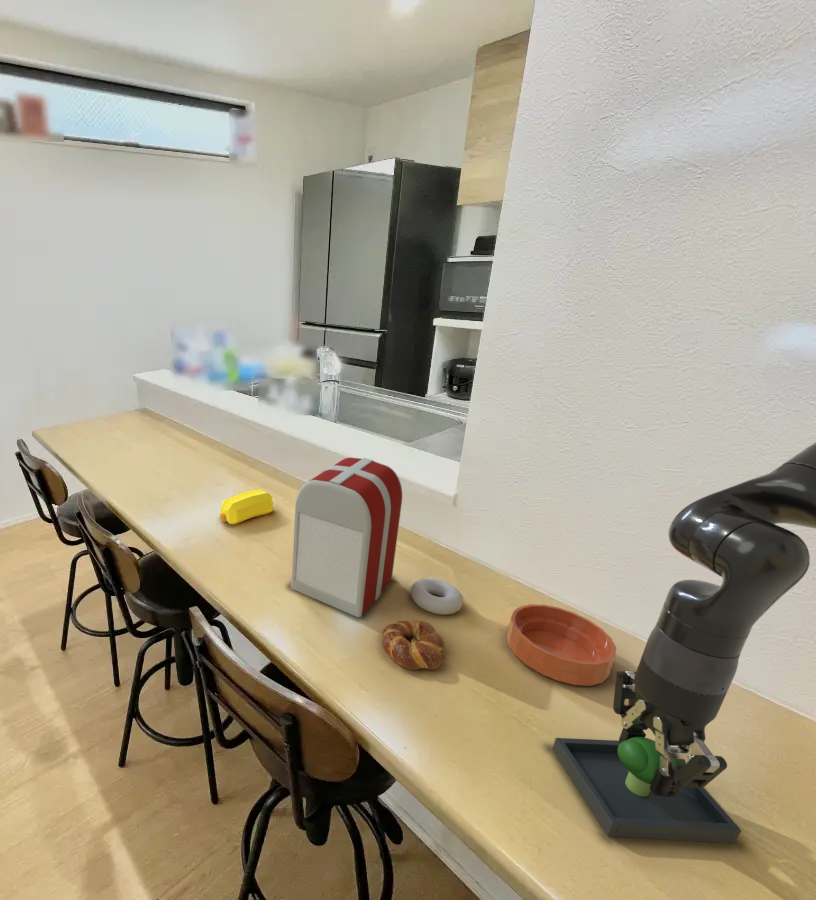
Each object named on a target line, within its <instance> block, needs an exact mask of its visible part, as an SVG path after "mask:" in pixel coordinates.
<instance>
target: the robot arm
mask: <svg viewBox="0 0 816 900" xmlns="http://www.w3.org/2000/svg"><path fill="white" fill-rule="evenodd" d="M778 524H789V525H794V526H799V527H804V528H809V529H816V441H815V442H813V443H812V444H810V445H809V446H807V447H805V448H804V449H803V450H802V451H800V452H798V453H797V454H796V455H794V456H792V457H791V458H789V459H788V460H786V461H785V462H783V463H782V464H781V465H779V466H778V467H775V469H774V470H772V471H770V472H769V473H766V474H763V475H760V476H757V477H755V478H751V479H748V480H745V481H742V482H739V483H738V484H735V485H732V486H729V487H727V488H724V489H722V490H719V491H716V492H713V493H711V494H708V495H706V496H703V497H700V498H699V499H697V500H694V501H692V502H691V503H690V504H688V505H687V506H685V507H683V509H681V510H680V511H679V512H678V513H677V514H676V515H675V517H674V518H673V519H672V521H671V523H670V525H669V528H668V533H667V534H668V541H669V543H670V545H671V547H672V548H673V549H674V550H675V551H677V552H678V553H679V554H680V555H681V556H684V557H686V558H687V559H688V560H690V561H692V562H694V563H696V564H698V565H700V566H701V567H703V568H705V569H707V570H709V571H710V572H712V573H714V574H715V575H717V576H718V577H721V578H722V581H721V585H718V584H715V583H712V582H709V581H704V580H699V579H682V580H679V581H677V582H675V583H673V585H672V586H671V587H670V588H669V590H668V592H667V594H666V597H665V600H664V602H663V605H662V607H661V611H660V613H659V616H658V619H657V621H656V624H655V625H654V627H653V629H652V630H651V632H650V634H649V636H648V637H647V641H646V644H645V646H644V649H643V652H642V654H641V657H640V659H639V663H638V666H637V668H636V671H632V670H618V671H616V674H615V675H616V676H615V683H614V695H613V705H612V708H613V709H612V710H613V711H614V714H616V715H620V717H621V721H620V722H621V723H620V724H621V726H622V729H621V732H620V735H619V738H618V741H619V744H620V743H621V742H623V741H626V740H628V739H630V738H633V737H645V738H646V736H647V733H645V731H647V730H648V729H649V730H650V731H651V732H652V734H653V735H654V741H655V750H656V752H658V753H659V768H657V771H656V773H655V776H654V778H653V781H652V783H651V785H650V789H651V791H652V792H653V793H654V795H656V796H667V797H674V796H676V794H677V792H678V789H679V787H686V788H704V789H705V787H706V786H707V785H709V784H710V783H711V782H712V781H714V779H716V778H717V777H719V775H720V774H721V773H723V772H724V771H725V770H726V769H727V768H728V762H727V761H726V759H725V758H724V757H723V756H721V755H714V754H713V752H712V751H711V750H710V749H709V747H708V746H707V745H706V743H705V741H706V727H707V726H708V725H709V724H710V723H711V722H712V721H714V719H716V718H717V716H718V714H719V712H720V709H721V707H722V705H723V702H724V700H725V698H726V696H727V693H728V691H729V689H730V687H731V685H732V684H733V683H732V682H733V680H734V678H735V676H736V673H737V671H738V670H737V669H738V665H739V660H740V657H741V653H742V651H743V650H744V649H743V648H744V646H745V644H746V642H747V639H748V638H749V635H750V634H751V632H752V629H753V626H755V624H756V623H757V622H758V621H759V619H761V618H762V617H763V616H764V615H765V613H766V612H768V610H770V609H771V608H772V606H773V605H774V604H775V603H777V602H778V600H780V599H781V598H782V597H783V596H784V595H786V593H788V592H789V591H791V589H792V588H794V587H795V586H796V585H797V584H798V583H799V582H800V581H801V580H802V579H803V578H804V577H805V575H806V574H807V572H808V571H809V568H810V562H811V556H810V551H809V548H808V546H807V544H806V542H805V541H804V540H803V539H802V538H801V537H800V536H799V535H798V534H796V533H794V532H793V531H792V530H789V529H787V528H784V527H782V526H780V525H778ZM625 700H628V704H625ZM668 745H670V746H671V747H668ZM673 759H676V765H672V760H673Z"/></svg>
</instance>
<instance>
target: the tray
mask: <svg viewBox="0 0 816 900" xmlns="http://www.w3.org/2000/svg"><path fill="white" fill-rule="evenodd" d="M618 746H619V740H615V739H614V740H613V739H594V738H593V739H592V738H571V737H570V738H569V737H555V739H554V741H553V746H552V751H553V753H554V754H555V756H556V758H557V759H558V761H559V762H560V764H561V766H563V769H564V770H565V772H566V773H567V775H568V777H569V778H570V779H571V782H572V783H573V785H574V786H575V788H576V789H577V791H578V792H579V794H580V795H581V797H582V798H583V800H584V802H585V803H586V805H587V806H588V808H589V810H590V811H591V812H592V814H593V816H594V817H595V819H596V821H597V822H598V824H599V825H600V827H601V828H602V829H603V832H604V833H605V834H606V837H613V838H614V837H615V838H633V839H652V840H668V841H669V840H670V841H689V842H706V843H724V844H735V843H736V842H737V840H738V839H739V837H740V835H741V833H742V829H741V828H740V827H739V826H738V824H737V823H736V822H735V821H734V820H733V819H732V818H731V817H730V816H729V815H728V813H727V812H726V811H725V809H723V808H722V806H720V804H719V803H718V802H717V801H716V800H715V799H714V797H713V796H712V795H711V794H710V793H709V792H708V791H707V790H706V789H705V787H704V788H686V787H679V789H678V792H677V794H676V796H674V797H667V796H656V795H654V793H653V792H652V791H651V790H650V792H649V795H648V796H646V797H641V796H638V795H636V794H634V793H633V792H631V791H630V790H629V789H628V788H627V786H626V784H625V781H626V778H627V775H628V773H629V770H628V769H627V767H626V766H625V765H624V764H623V763H622V762H621V760H620V759H619V756H618Z"/></svg>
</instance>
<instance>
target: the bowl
mask: <svg viewBox="0 0 816 900" xmlns="http://www.w3.org/2000/svg"><path fill="white" fill-rule="evenodd" d="M512 611H513V612H512V613H511V616H510V620H509V624H508V628H507V633H506V641H507V644H508V647H509V648H510V650H511V651H512V653H513V654H514V656H516V658H518V659H519V660H520V661H522V663H523V664H524V665H526V666H527V667H529V668H530V669H532V670H534V671H535V672H537V673H539V674H541V675H543V676H546V677H547V678H550V679H552V680H555V681H557V682H561V683H565V684H570V685H573V686H589V687H590V686H595V685H598V684H602V683H603V682H605V681H606V679H608V678H609V676H610V674H611V671H612V668H613V665H614V662H615V660H616V654H617V646H616V645H615V644H616V643H614V640H613V639H612V637H611V636H610V635H609V634H608V633H607V632H606V631H605V630H604V629H603V628H602V627H600V626H599V625H597V624H596V623H594V622H593V621H592V620H590V619H588V618H586V617H584V616H582V615H579V614H578V613H576V612H574V611H570V610H567V609H564V608H561V607H558V606H553V605H547V604H537V603H535V604H534V603H532V604H526V605H521V606H519V607H517V608H516V609H514V610H512Z"/></svg>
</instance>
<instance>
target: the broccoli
mask: <svg viewBox="0 0 816 900" xmlns="http://www.w3.org/2000/svg"><path fill="white" fill-rule="evenodd" d="M668 747H672V746H671V745H668ZM618 756H619V759H620V760H621V762H622V763H623V764H624V765H625V766H626V767H627V769H628V770H629V773H628V775H627V778H626V781H625V784H626V786H627V788H628V789H629V790H630V791H631V792H633V793H634V794H636V795H638V796H641V797H646V796H648V795H649V792H650V790H651V789H650V785H651V783H652V781H653V778H654V776H655V773H656V771H657V768H659V753H658V752H656V750H655V739H654V740H653V739H652V738H648V737H646V736H645V737H633V738H630V739H628V740H626V741H623V742H621V743H620V744H619V746H618ZM672 765H676V759H673V760H672Z"/></svg>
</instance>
